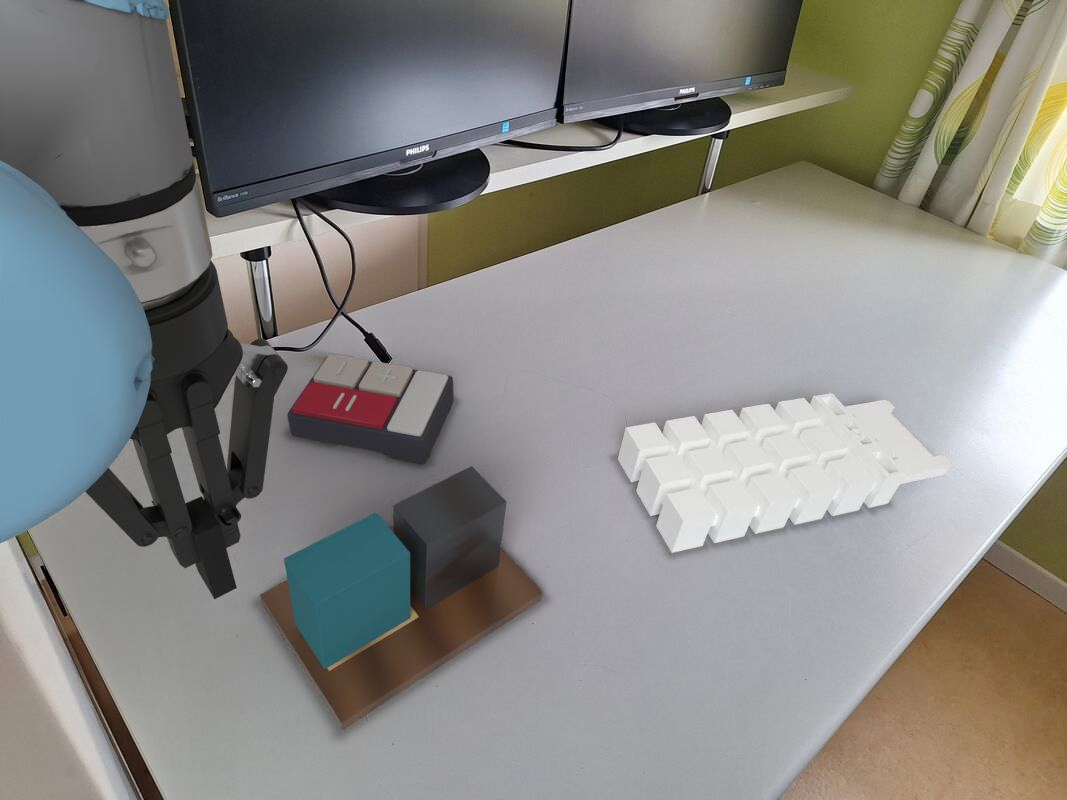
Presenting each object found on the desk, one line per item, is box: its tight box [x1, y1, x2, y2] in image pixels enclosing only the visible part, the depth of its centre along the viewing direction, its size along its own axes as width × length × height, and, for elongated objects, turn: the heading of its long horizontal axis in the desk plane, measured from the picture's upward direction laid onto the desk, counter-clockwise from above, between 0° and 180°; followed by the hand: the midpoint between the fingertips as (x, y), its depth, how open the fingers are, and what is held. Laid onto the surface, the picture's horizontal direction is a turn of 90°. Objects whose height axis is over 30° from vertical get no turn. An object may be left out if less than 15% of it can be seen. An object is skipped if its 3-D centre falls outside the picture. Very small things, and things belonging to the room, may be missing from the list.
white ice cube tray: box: [617, 392, 952, 554], centre depth 83 cm, size 13×5×35 cm
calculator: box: [286, 353, 454, 465], centre depth 83 cm, size 11×4×15 cm
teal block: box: [283, 511, 410, 669], centre depth 61 cm, size 8×5×9 cm, turn 130°
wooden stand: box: [259, 465, 543, 731], centre depth 64 cm, size 20×14×10 cm
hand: (217, 579), depth 50 cm, fingers closed
